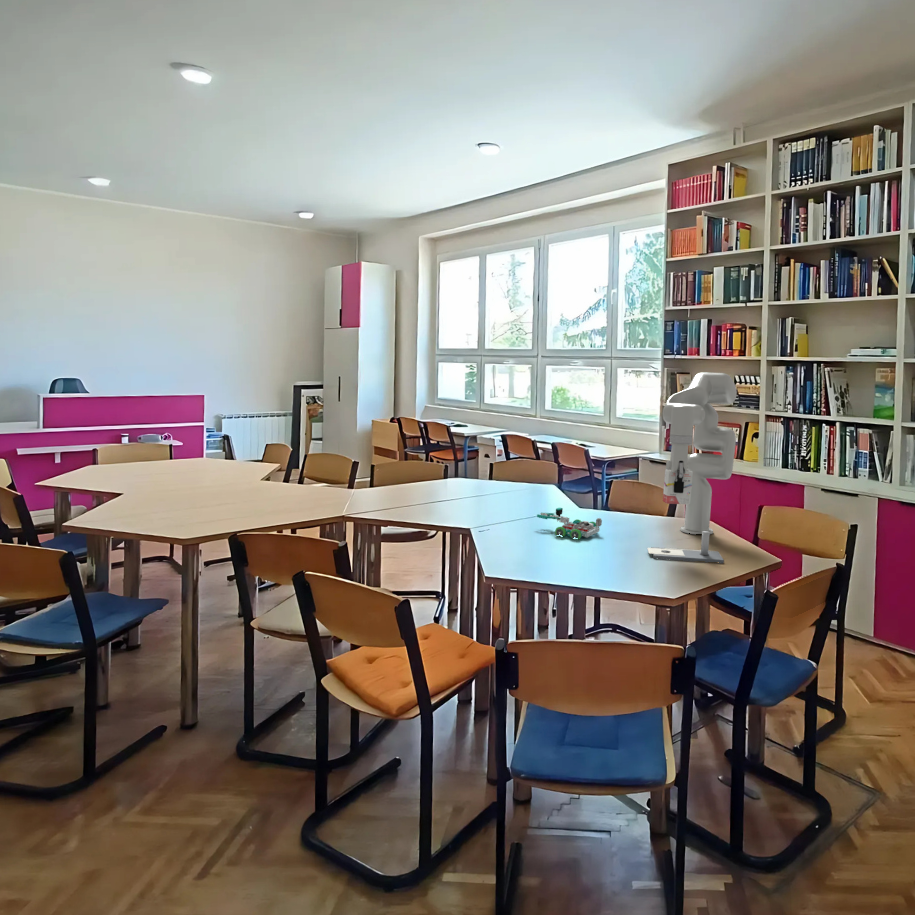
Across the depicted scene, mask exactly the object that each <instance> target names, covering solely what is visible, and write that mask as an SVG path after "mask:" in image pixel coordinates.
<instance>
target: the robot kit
mask: <svg viewBox="0 0 915 915" xmlns="http://www.w3.org/2000/svg"><path fill="white" fill-rule="evenodd" d="M562 515H563V507H557V508H555V513H552V512H540V514H536V517H537V518H539V519H544V520H548V519H550V520H551V519H552V520H556V521H557V522H559V523H562V526H558V527H556V529H555V531H554V533H555V534H554V535H555V536H556V535H559V534H560V535H562V536H564V537H566V536H568V537H570V538H571V537H572V538H574V537H576V538H578V539H579V540H580V539H581V538H582V537H585V538H589V537H591V536H593V535H595V534H597V533H599V532H600V531H601V530H600V528H601V526H602V524H603V523H602V522H603V520H602V518H600V517H597V518H596V520H595V521H590V522H589V521H588V520H587V521H586V520H582V521H581V519H574V520H573V521H570V517H567V516H562ZM572 538H571V539H572Z"/></svg>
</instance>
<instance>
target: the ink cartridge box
mask: <svg viewBox="0 0 915 915" xmlns="http://www.w3.org/2000/svg"><path fill="white" fill-rule="evenodd" d="M670 463H671V461H670V460H667V461H666V463H665V470H664V477H663V478H664V479H663V492H662V502H664V503H665V504H666V505H668V504H669V505H670V504H671V505H686V504H690V500H691V488H692V476H693V472H692V471H689V470H688V465H689V462H687V470H686V473H685V472H684V490H683V493H674V481H675V475H676V474H675V473H676V472H674V473H672V471H671V470H670ZM684 471H685V470H684ZM677 472H679V471H677Z"/></svg>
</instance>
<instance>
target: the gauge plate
mask: <svg viewBox="0 0 915 915" xmlns="http://www.w3.org/2000/svg"><path fill="white" fill-rule="evenodd" d="M710 535H711V534H710V532H708V531H702V535H701V544H700V546H701V547H700V549H689V548H688V549H687V548H676V547H675V548H673V547H672V548H671V547H657V546H651V547H647V548H646V549H647V551H648V554H649V555H651V554H653V555H652V558H653V559H654V558H658V559H657V560H665V559H668V560H669V559H670V560H669V561H679V560H683V562H694V561H705V562H704V563H708V562H719V563H718V564H723V563H725V559H724V557H723V556H722V555H721V554H720V552H719V551H718V550H716V551H715V550H709V544H710ZM668 560H667V561H668Z"/></svg>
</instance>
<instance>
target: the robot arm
mask: <svg viewBox="0 0 915 915" xmlns="http://www.w3.org/2000/svg"><path fill="white" fill-rule="evenodd" d="M737 393H738V392H737V387H736V384H735V382H734V380H733V378H732V377H731V376H730V374H727V373H725V372H698V373H696V375H694V376H693V377H692V379H691V381H690V383H689V385H688V387H687V388H685V389H683V390H682V391H679V392H676V393H673V394H672V395H671V396H670V397H669V398H668V399H667V401H666V403H665V404H664V407H663V409H662V418H663V421H664V422H665V423H666V424H668V425H670V430H669V431H670V432H669V442H668V443H669V445H671V450H670V451H671V452H670V458H669V459H670V460H669V461H671V463H670V470H671V471H672V473H674V472H676V473H675V474H676V475H675V481H674V493H683V490H684V472H685V473H686V470H687V462H689V465H688V470H689V471H692V472H693V476H692V488H691V500H690V504H685V512H684V525H682V526H680V528H679V529H680V530H679V531H681V532H682V533H685V534H689V533H690V535H696V534H702V531H708V532H710V534H709V535H712V534H713V533H714V530H713V529H712V528H711V527H710V521H711V510H712V509H711V506H712V496H713V494H712V492H713V489H712V486H711V484H710V483H709V481H708V480H707V479H714V480H715V479H716V480H729V479H730V478H731V476H732V474H733V469H734V462H735V460H734V459H735V453H736V440H737V437H736V433H735V431H734V430H733V429H731V428H729V427H728V428H727V427H718V424H719V414H718V412H717V410H716V409H715V408H714V406H713V405H715V404H716V405H731V404H733V403H734V402H735V400H737V399H736V398H737ZM712 404H713V405H712ZM693 431H694V432H693ZM692 445H693V447H694V448H695V449H696V450H699V451H706V452H717V453H721V454H713V453H701V452H699V453H698V452H697V453H696V452H695V453H692V454H690V455H689V446H692ZM684 470H685V471H684ZM677 471H679V472H677Z"/></svg>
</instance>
